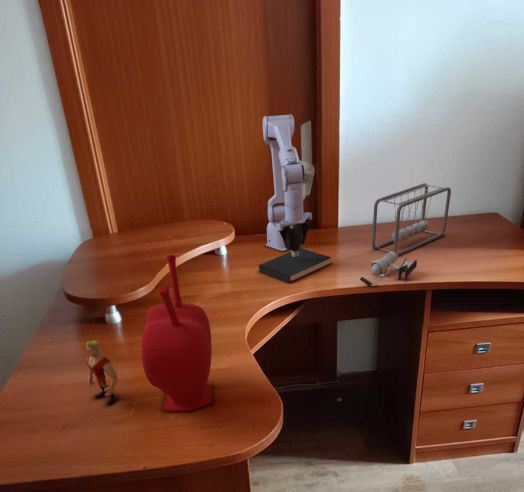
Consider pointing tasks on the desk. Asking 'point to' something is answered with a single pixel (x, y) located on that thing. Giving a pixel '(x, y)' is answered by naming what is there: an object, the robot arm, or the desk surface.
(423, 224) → the newton's cradle
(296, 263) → the notebook
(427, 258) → the desk surface
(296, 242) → the light bulb
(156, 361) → the novelty television
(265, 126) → the robot arm
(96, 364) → the action figure
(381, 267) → the clip-on lamp
